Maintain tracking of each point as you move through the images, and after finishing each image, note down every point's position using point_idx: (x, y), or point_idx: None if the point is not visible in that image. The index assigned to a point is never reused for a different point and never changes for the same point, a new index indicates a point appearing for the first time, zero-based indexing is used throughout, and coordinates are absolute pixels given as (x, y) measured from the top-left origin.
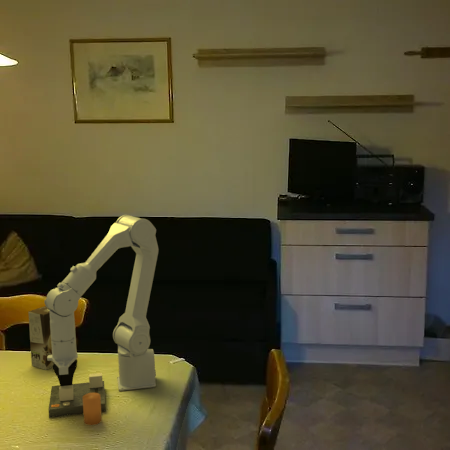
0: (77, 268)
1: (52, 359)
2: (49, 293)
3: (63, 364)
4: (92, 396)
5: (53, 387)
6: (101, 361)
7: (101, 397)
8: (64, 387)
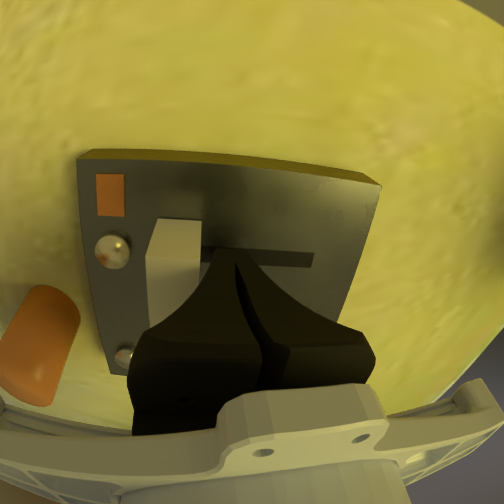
0: None
1: (187, 461)
2: None
3: (5, 474)
4: (20, 386)
5: (362, 192)
6: (473, 332)
7: None
8: (170, 288)
